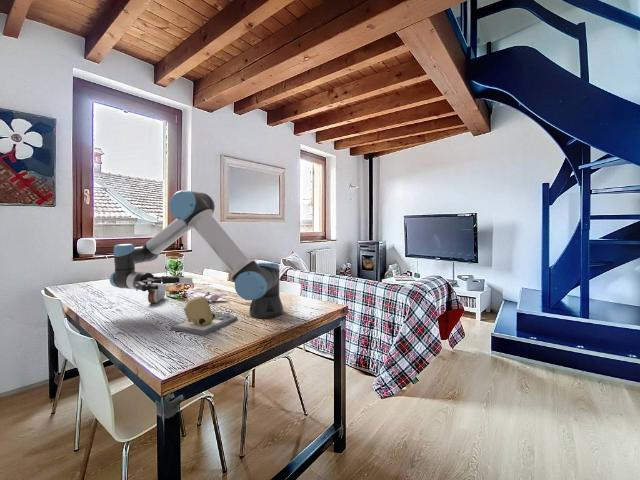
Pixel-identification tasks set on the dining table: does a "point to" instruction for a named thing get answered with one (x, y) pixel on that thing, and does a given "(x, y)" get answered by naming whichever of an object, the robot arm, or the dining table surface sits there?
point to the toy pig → (199, 311)
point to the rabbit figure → (214, 296)
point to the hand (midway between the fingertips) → (179, 284)
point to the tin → (155, 296)
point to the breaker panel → (205, 329)
